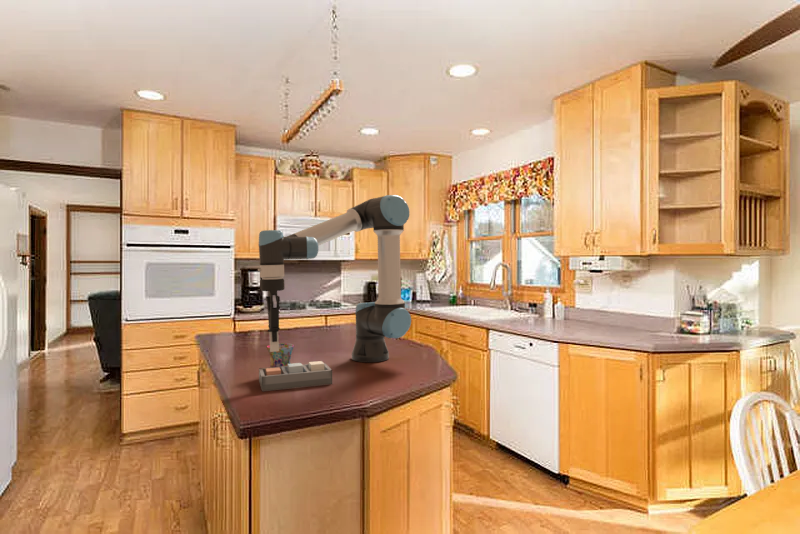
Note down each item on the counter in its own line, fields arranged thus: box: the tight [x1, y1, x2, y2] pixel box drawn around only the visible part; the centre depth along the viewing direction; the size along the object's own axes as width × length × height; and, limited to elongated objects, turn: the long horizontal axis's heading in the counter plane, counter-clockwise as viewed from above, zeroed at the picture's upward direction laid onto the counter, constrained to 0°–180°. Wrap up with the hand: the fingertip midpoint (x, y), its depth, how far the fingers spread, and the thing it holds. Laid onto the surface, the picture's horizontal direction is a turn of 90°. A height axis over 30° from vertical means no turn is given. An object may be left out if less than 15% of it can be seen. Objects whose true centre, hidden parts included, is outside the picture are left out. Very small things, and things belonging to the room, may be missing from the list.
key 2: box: [308, 360, 325, 371], centre depth 153 cm, size 4×4×2 cm
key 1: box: [266, 367, 281, 376], centre depth 148 cm, size 4×4×2 cm
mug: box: [266, 342, 295, 367], centre depth 161 cm, size 12×9×11 cm
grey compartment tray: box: [258, 362, 333, 392], centre depth 150 cm, size 22×12×4 cm, turn 111°
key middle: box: [287, 362, 303, 374], centre depth 150 cm, size 4×4×2 cm
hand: (274, 351), depth 148 cm, fingers closed
